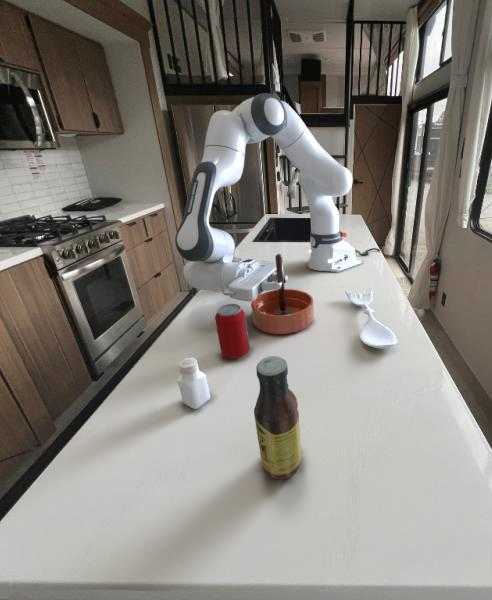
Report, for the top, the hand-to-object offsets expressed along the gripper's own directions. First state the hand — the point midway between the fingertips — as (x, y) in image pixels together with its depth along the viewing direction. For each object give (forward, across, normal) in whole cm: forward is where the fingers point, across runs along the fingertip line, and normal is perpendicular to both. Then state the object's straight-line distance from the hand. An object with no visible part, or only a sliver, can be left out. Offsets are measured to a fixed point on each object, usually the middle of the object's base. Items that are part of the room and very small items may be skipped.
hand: (283, 282), depth 88 cm
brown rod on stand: (-1, 0, +11) cm, 11 cm away
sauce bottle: (+16, -44, +12) cm, 48 cm away
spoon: (+23, +5, +12) cm, 26 cm away
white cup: (-27, +19, +12) cm, 35 cm away
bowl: (-1, 0, +12) cm, 12 cm away
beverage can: (-6, -18, +12) cm, 23 cm away
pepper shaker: (-6, -35, +12) cm, 37 cm away
